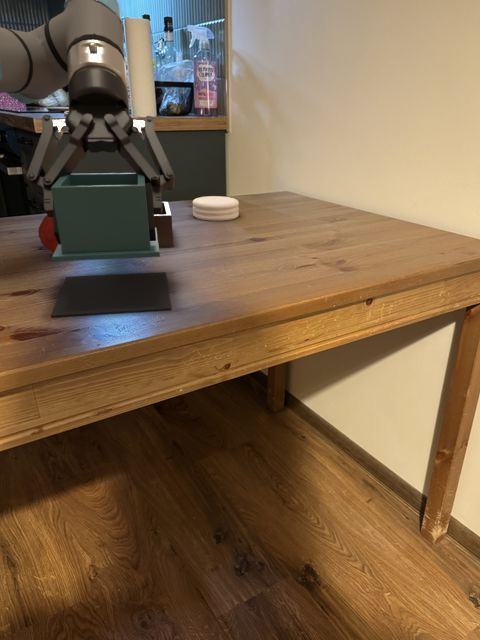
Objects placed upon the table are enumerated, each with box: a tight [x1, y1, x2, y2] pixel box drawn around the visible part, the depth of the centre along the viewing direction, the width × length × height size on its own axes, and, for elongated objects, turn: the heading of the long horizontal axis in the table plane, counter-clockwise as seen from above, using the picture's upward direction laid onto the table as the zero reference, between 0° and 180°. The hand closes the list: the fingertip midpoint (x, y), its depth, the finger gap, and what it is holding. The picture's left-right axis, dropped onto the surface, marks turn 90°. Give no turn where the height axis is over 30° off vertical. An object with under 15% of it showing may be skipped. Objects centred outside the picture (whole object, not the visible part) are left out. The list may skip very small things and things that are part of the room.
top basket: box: [51, 172, 161, 263], centre depth 61 cm, size 12×12×8 cm
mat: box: [50, 271, 172, 319], centre depth 66 cm, size 14×14×1 cm
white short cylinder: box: [192, 195, 240, 222], centre depth 108 cm, size 10×10×4 cm
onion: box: [38, 214, 58, 254], centre depth 78 cm, size 6×6×8 cm
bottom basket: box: [154, 201, 174, 249], centre depth 89 cm, size 12×12×6 cm
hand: (106, 236), depth 60 cm, fingers closed on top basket, 10 cm apart
